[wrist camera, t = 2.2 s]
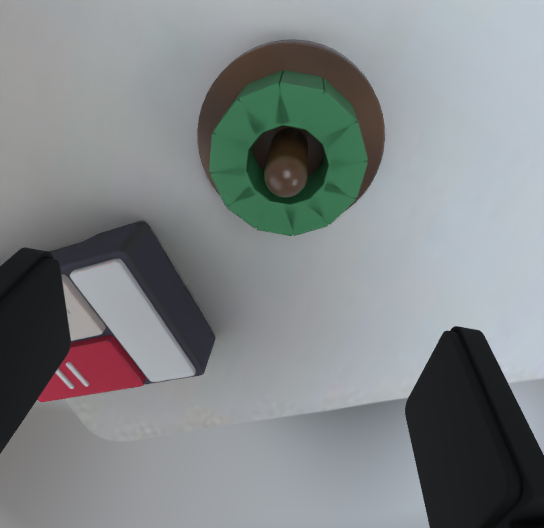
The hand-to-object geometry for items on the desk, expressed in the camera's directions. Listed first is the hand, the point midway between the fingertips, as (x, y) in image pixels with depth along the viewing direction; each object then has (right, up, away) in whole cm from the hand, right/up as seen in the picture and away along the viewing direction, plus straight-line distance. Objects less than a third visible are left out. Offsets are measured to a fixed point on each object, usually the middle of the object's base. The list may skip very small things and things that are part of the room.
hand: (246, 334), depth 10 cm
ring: (+2, +8, +12) cm, 15 cm away
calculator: (-13, -1, +21) cm, 25 cm away
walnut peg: (+2, +9, +13) cm, 16 cm away
